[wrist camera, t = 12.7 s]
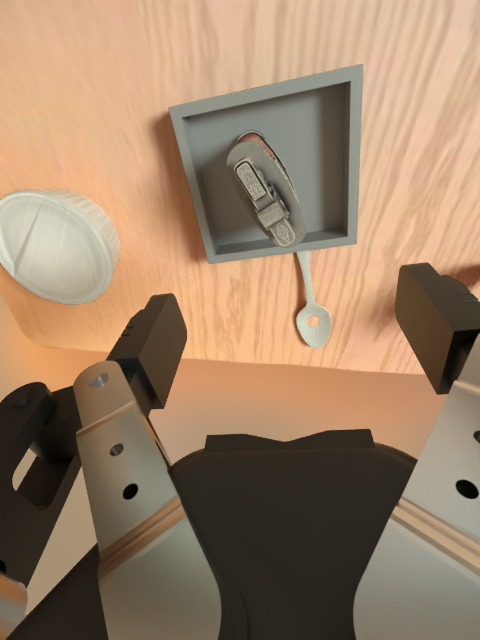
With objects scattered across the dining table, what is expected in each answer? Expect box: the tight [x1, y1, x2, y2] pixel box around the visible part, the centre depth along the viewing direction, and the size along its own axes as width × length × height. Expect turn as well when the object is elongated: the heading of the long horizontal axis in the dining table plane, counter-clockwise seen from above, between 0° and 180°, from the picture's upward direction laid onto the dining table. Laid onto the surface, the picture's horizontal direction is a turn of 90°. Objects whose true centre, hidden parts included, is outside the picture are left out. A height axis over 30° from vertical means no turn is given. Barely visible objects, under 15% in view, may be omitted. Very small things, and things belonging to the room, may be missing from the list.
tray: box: [168, 64, 363, 264], centre depth 27 cm, size 14×13×3 cm
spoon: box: [296, 251, 331, 348], centre depth 34 cm, size 4×21×2 cm, turn 14°
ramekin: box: [0, 189, 120, 305], centre depth 31 cm, size 11×11×5 cm
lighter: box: [227, 130, 306, 248], centre depth 24 cm, size 8×3×10 cm, turn 35°
